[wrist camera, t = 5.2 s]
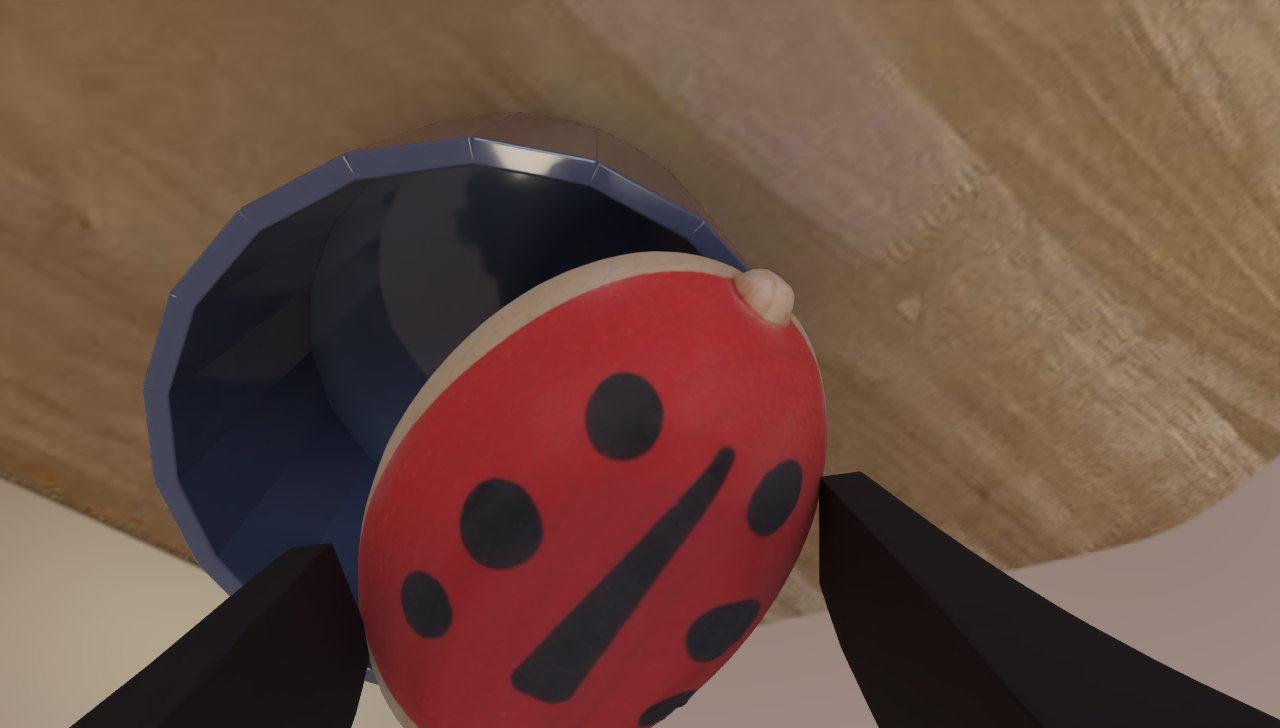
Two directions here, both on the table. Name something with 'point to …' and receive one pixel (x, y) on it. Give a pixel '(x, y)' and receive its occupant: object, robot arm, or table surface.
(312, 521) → the round open container
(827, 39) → the table surface
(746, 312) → the ladybug figurine
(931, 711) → the robot arm
